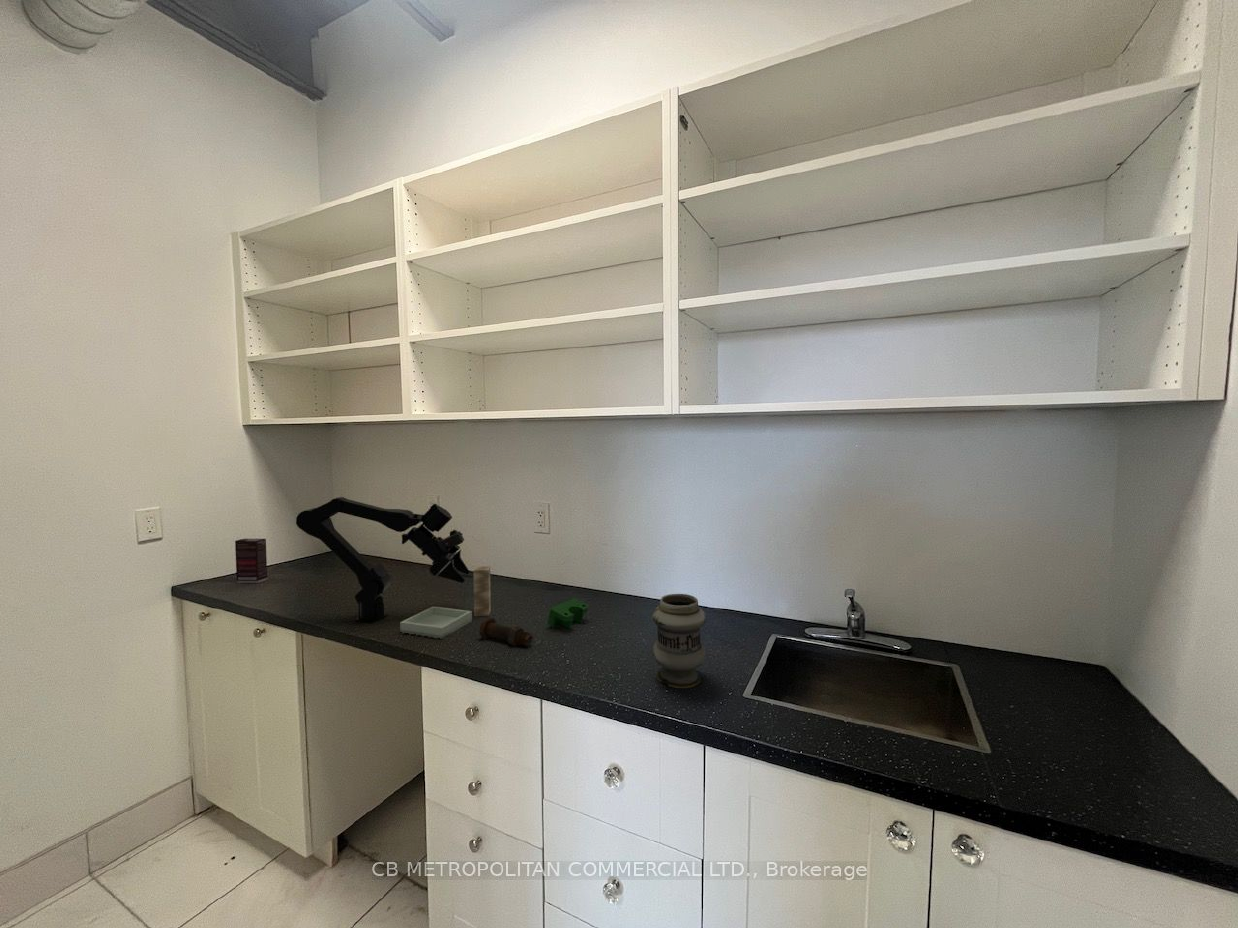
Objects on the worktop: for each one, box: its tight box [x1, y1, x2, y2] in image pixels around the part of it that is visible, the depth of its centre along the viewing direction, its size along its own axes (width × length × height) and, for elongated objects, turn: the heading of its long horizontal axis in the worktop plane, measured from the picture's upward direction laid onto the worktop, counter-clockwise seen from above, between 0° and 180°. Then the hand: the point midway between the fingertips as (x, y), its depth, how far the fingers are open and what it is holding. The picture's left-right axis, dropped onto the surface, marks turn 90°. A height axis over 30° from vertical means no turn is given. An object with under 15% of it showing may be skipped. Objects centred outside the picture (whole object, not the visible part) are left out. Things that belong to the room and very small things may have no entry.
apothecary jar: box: [651, 593, 707, 689], centre depth 110 cm, size 12×12×18 cm
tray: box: [399, 606, 473, 640], centre depth 139 cm, size 14×14×3 cm
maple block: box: [473, 565, 492, 617], centre depth 150 cm, size 4×4×14 cm
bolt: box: [478, 616, 534, 647], centre depth 129 cm, size 6×5×15 cm
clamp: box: [547, 597, 589, 630], centre depth 142 cm, size 12×6×9 cm, turn 141°
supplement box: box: [234, 538, 268, 584], centre depth 183 cm, size 9×5×16 cm, turn 88°
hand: (466, 577), depth 149 cm, fingers open, 9 cm apart
